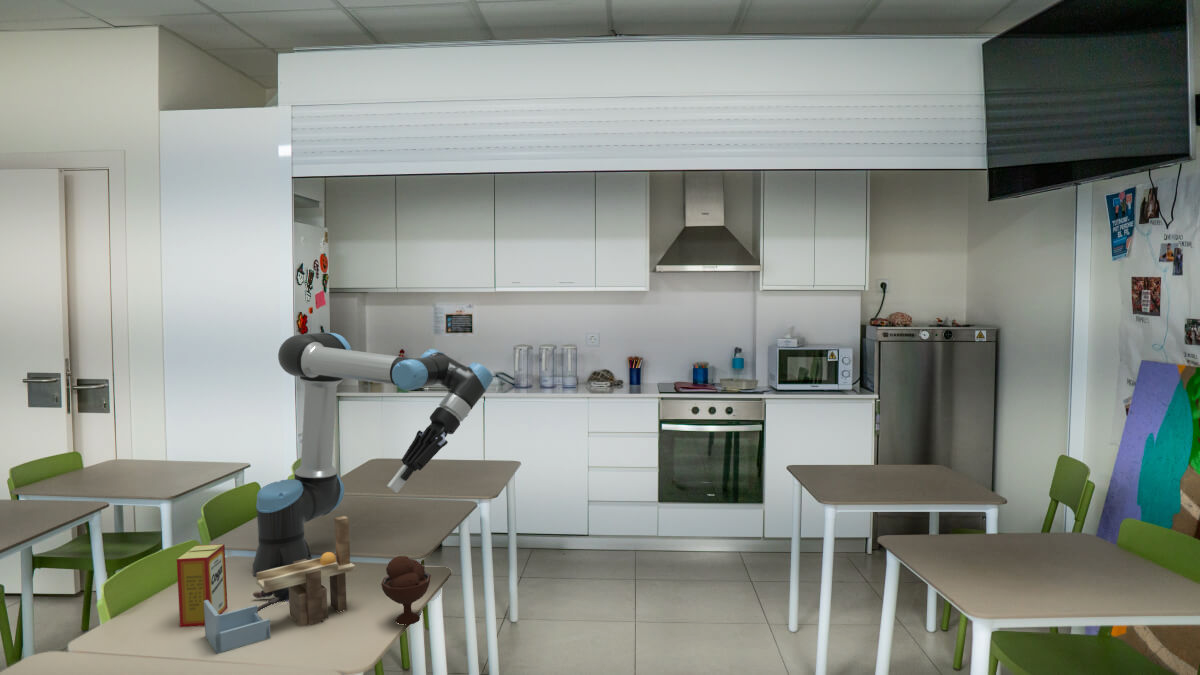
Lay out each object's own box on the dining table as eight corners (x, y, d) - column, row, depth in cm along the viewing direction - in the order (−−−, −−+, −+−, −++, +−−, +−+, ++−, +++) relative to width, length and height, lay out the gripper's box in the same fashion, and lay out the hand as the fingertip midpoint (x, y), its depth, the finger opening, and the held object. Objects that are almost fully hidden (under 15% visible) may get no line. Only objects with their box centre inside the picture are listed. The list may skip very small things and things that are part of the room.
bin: (257, 622, 166) (255, 587, 165) (270, 637, 157) (269, 601, 157) (205, 636, 159) (203, 600, 158) (216, 653, 151) (215, 616, 150)
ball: (317, 568, 170) (316, 553, 170) (329, 563, 173) (329, 549, 173) (327, 570, 168) (326, 555, 168) (339, 565, 171) (339, 551, 171)
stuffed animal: (309, 581, 188) (301, 568, 178) (306, 620, 182) (297, 610, 172) (260, 585, 185) (249, 573, 175) (255, 625, 180) (244, 615, 170)
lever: (344, 562, 176) (342, 513, 176) (355, 569, 171) (353, 519, 170) (256, 583, 164) (254, 531, 163) (265, 592, 158) (263, 538, 158)
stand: (335, 600, 177) (333, 552, 176) (350, 613, 169) (349, 563, 168) (288, 613, 170) (286, 563, 169) (302, 628, 162) (300, 575, 161)
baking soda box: (210, 625, 164) (206, 556, 164) (180, 627, 164) (176, 557, 163) (227, 607, 174) (224, 542, 173) (199, 609, 173) (195, 543, 172)
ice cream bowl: (420, 632, 159) (417, 565, 158) (373, 628, 161) (371, 562, 160) (440, 611, 169) (438, 548, 168) (396, 608, 171) (394, 546, 171)
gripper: (471, 426, 186) (414, 502, 176) (447, 420, 196) (391, 493, 186) (452, 408, 182) (392, 485, 172) (428, 403, 192) (370, 476, 182)
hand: (392, 489), depth 179 cm, fingers closed
